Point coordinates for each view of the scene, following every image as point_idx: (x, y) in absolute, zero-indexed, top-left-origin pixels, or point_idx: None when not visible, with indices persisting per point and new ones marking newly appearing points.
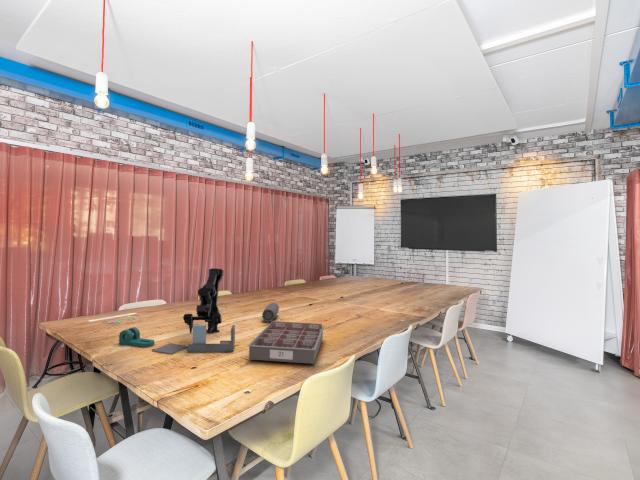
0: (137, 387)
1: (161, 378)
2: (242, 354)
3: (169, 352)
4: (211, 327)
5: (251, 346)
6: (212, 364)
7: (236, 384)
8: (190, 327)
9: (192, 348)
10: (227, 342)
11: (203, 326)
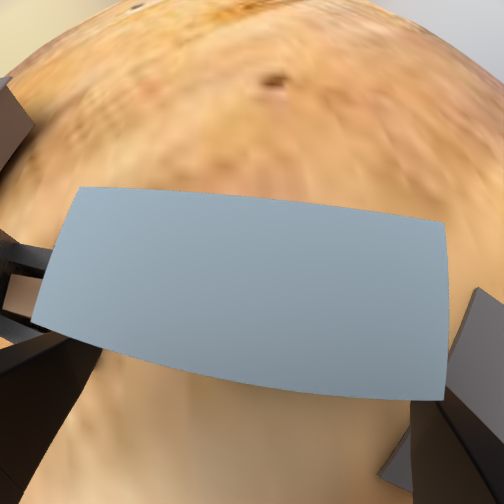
0: (416, 24)
1: (378, 40)
2: (19, 217)
3: (496, 311)
4: (9, 346)
5: (5, 77)
6: (182, 103)
7: (145, 18)
8: (479, 439)
9: None
10: (19, 297)
11: (124, 199)
